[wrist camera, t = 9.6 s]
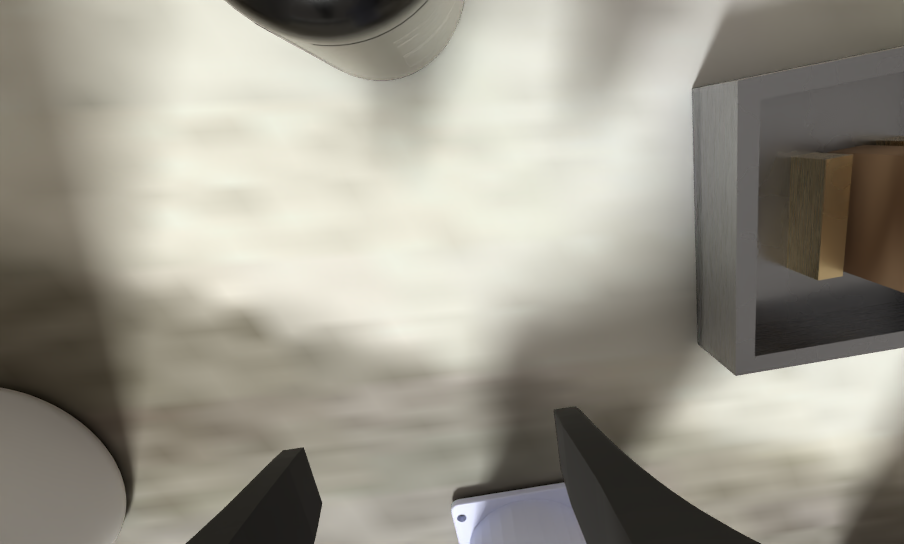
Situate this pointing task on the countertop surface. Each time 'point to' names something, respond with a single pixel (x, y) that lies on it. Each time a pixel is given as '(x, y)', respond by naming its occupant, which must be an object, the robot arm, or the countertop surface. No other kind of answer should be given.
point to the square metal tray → (790, 212)
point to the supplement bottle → (361, 31)
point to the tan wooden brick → (876, 215)
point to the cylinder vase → (55, 477)
